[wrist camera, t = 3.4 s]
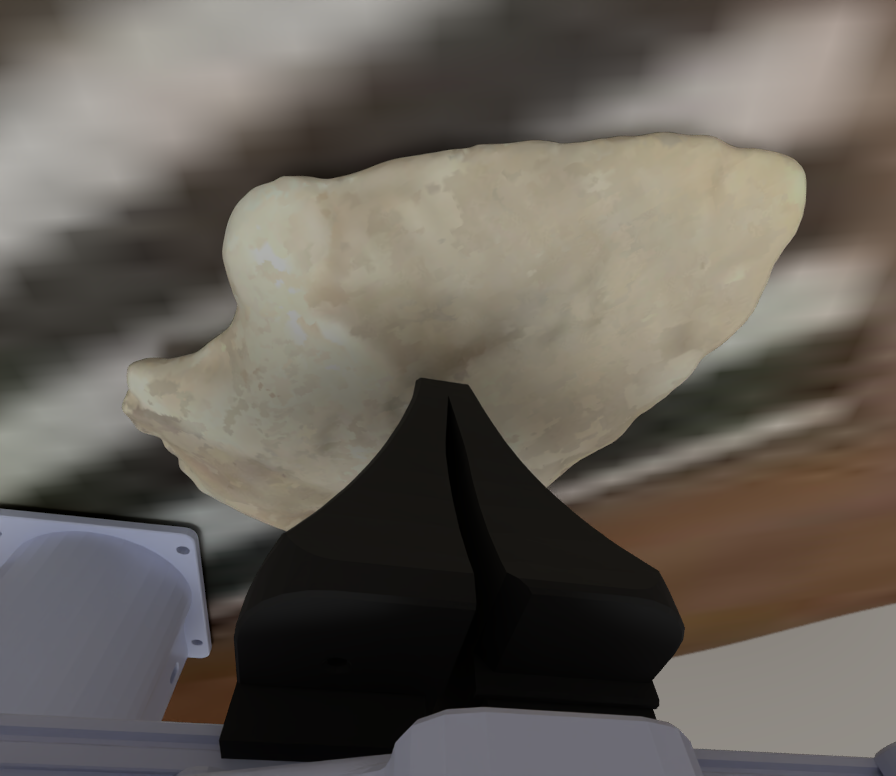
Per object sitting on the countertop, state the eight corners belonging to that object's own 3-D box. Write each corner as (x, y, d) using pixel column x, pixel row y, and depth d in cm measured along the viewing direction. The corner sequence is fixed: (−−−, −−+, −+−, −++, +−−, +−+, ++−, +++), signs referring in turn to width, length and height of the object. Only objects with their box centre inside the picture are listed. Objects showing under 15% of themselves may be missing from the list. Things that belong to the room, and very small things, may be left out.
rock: (55, 312, 15) (709, -104, 10) (317, 553, 22) (783, 364, 17) (-43, 378, 12) (834, -179, 7) (299, 635, 18) (864, 431, 14)
